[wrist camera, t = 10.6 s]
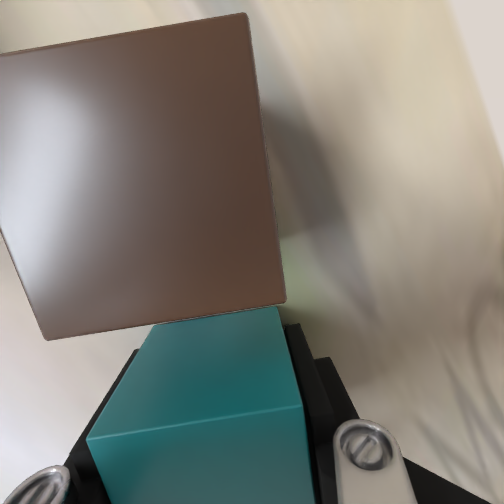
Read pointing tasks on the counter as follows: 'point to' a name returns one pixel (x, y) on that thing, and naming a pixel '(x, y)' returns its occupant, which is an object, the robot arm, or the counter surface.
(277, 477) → the teal toy cube
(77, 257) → the taupe block
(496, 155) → the counter surface
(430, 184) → the counter surface
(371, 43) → the counter surface
